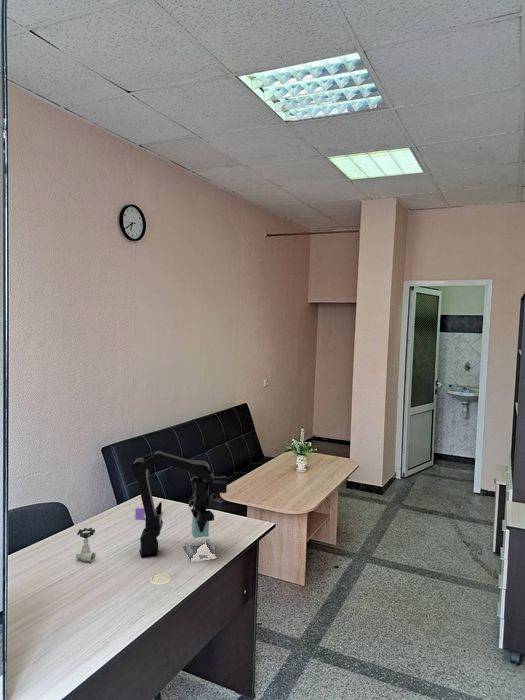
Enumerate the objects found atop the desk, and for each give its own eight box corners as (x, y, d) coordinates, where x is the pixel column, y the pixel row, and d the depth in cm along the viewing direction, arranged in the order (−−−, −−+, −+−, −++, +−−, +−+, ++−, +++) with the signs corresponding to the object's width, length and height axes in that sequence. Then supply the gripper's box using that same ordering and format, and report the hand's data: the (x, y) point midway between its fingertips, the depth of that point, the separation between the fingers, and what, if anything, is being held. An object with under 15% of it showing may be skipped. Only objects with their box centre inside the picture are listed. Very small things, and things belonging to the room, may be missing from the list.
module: (194, 538, 192) (194, 521, 191) (191, 533, 196) (192, 517, 195) (208, 536, 194) (209, 519, 194) (205, 532, 198) (206, 515, 198)
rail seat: (190, 563, 187) (190, 555, 187) (182, 547, 200) (183, 540, 200) (217, 559, 191) (217, 551, 191) (208, 544, 204) (208, 536, 204)
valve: (87, 566, 182) (87, 535, 181) (73, 563, 184) (73, 533, 183) (98, 558, 188) (98, 529, 188) (84, 555, 190) (84, 526, 190)
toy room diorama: (158, 524, 223) (158, 510, 222) (133, 523, 223) (133, 508, 223) (164, 514, 235) (164, 500, 234) (140, 513, 235) (140, 499, 235)
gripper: (227, 498, 188) (225, 537, 189) (214, 483, 206) (212, 518, 206) (200, 501, 184) (198, 540, 185) (188, 485, 201) (187, 521, 202)
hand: (200, 529), depth 195 cm, fingers closed on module, 4 cm apart
